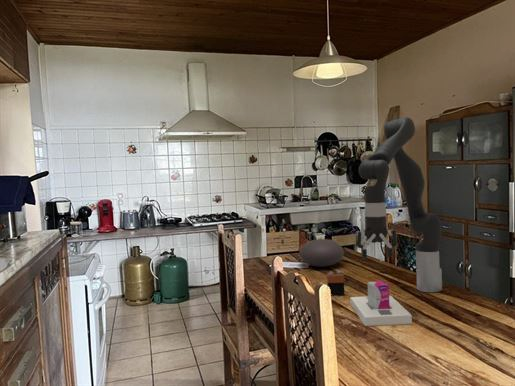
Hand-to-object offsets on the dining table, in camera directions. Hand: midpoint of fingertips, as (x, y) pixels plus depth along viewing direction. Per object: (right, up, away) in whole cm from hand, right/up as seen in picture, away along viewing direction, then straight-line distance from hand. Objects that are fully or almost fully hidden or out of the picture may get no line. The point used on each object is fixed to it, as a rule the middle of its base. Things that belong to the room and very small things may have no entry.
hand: (376, 258), depth 145 cm
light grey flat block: (+1, -21, +1) cm, 21 cm away
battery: (-10, -20, +26) cm, 34 cm away
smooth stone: (-7, -17, +78) cm, 80 cm away
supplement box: (+1, -21, +1) cm, 21 cm away
